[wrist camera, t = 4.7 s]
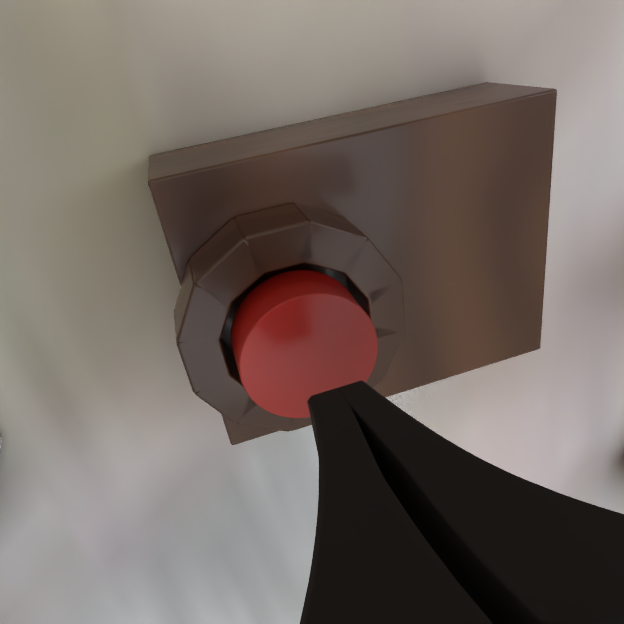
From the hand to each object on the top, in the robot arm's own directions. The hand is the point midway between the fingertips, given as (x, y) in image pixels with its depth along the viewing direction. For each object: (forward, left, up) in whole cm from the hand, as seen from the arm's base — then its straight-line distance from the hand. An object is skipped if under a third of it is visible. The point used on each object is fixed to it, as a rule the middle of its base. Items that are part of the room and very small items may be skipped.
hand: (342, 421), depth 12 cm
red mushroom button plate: (+2, -3, -10) cm, 11 cm away
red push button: (0, 0, -5) cm, 5 cm away
